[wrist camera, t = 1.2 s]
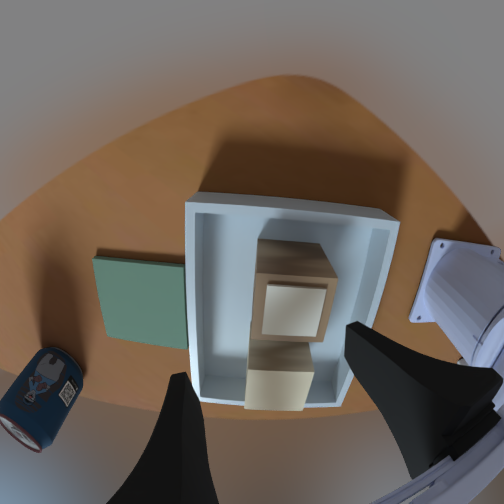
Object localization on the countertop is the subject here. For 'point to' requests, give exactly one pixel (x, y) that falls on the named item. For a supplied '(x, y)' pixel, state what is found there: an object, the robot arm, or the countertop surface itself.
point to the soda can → (41, 398)
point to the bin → (242, 282)
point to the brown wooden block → (291, 291)
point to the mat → (143, 300)
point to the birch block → (277, 375)
